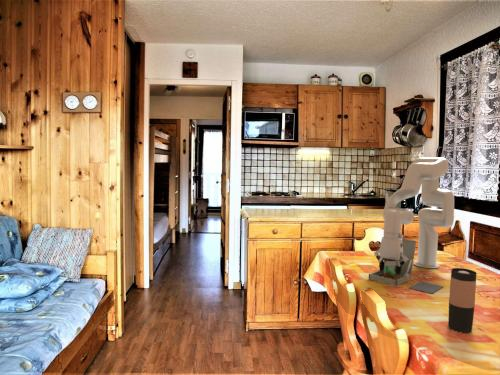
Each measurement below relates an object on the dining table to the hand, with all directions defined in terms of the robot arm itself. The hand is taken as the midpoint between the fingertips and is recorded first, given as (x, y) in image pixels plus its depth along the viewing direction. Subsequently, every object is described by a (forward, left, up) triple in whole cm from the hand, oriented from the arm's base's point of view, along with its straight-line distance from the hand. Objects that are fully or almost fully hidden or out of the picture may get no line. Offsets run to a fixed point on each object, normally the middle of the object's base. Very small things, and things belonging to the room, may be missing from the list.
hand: (389, 271), depth 188 cm
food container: (0, +1, -4) cm, 4 cm away
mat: (0, +17, -4) cm, 17 cm away
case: (-2, 0, -4) cm, 4 cm away
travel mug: (+37, +41, -4) cm, 55 cm away
